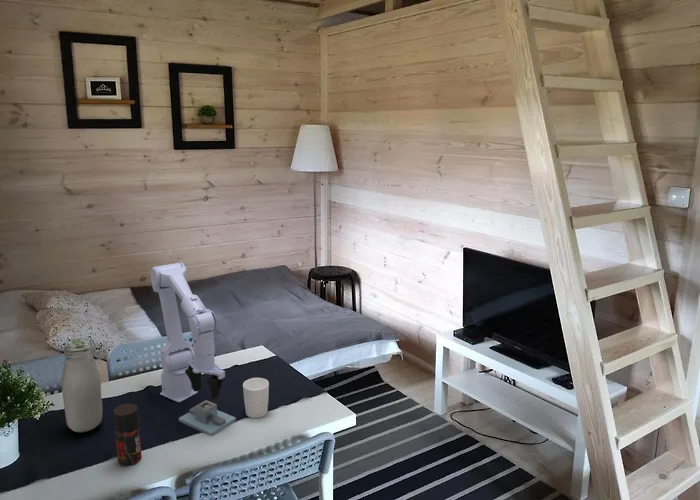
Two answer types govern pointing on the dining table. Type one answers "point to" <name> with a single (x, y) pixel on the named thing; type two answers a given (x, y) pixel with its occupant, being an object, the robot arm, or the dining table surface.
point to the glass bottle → (81, 387)
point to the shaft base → (211, 427)
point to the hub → (205, 412)
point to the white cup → (256, 397)
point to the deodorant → (127, 434)
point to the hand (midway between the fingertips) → (206, 393)
